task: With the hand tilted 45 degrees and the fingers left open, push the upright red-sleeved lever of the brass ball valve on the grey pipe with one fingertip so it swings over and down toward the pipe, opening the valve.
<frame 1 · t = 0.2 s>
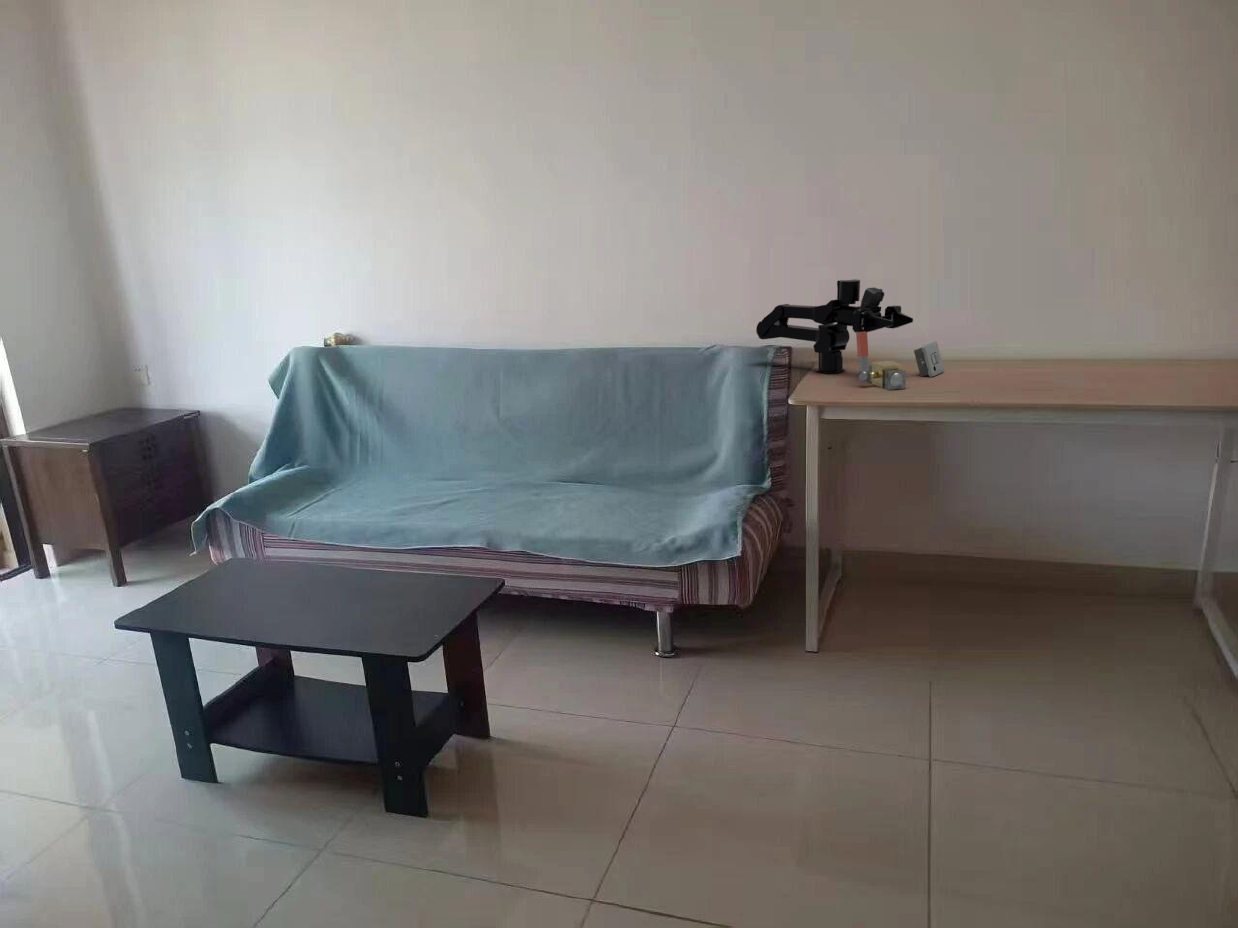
hand: (902, 321, 263), 16 cm above the table, tool horizontal, fingers open, 9 cm apart
lever: (862, 356, 261), point 8 cm above the table, hinge at -10.0°
valve: (886, 384, 263), on the table
electrical switch: (928, 375, 274), on the table
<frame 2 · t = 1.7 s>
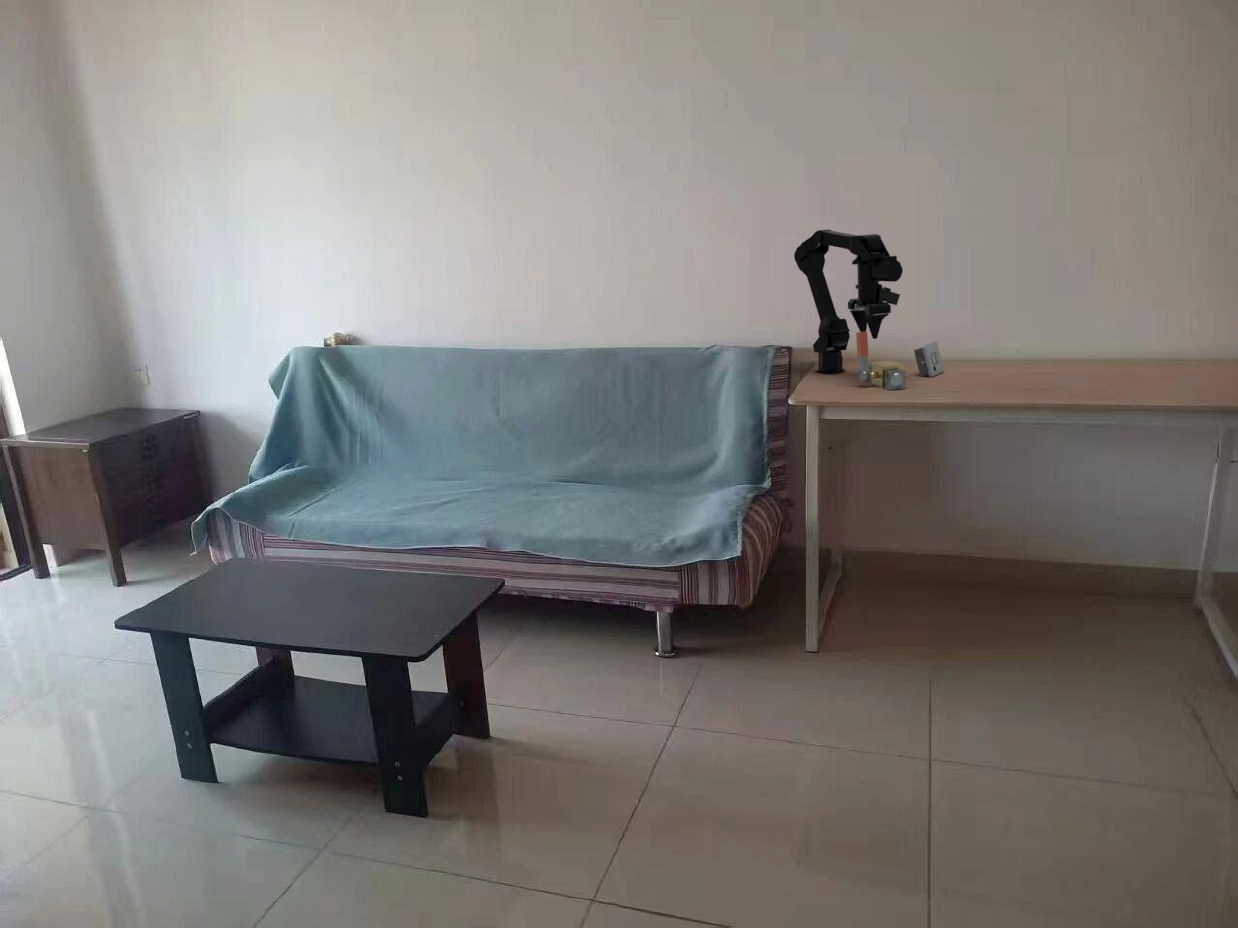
hand: (869, 336, 270), 12 cm above the table, tool pointing down, fingers open, 9 cm apart
nothing on the table moved.
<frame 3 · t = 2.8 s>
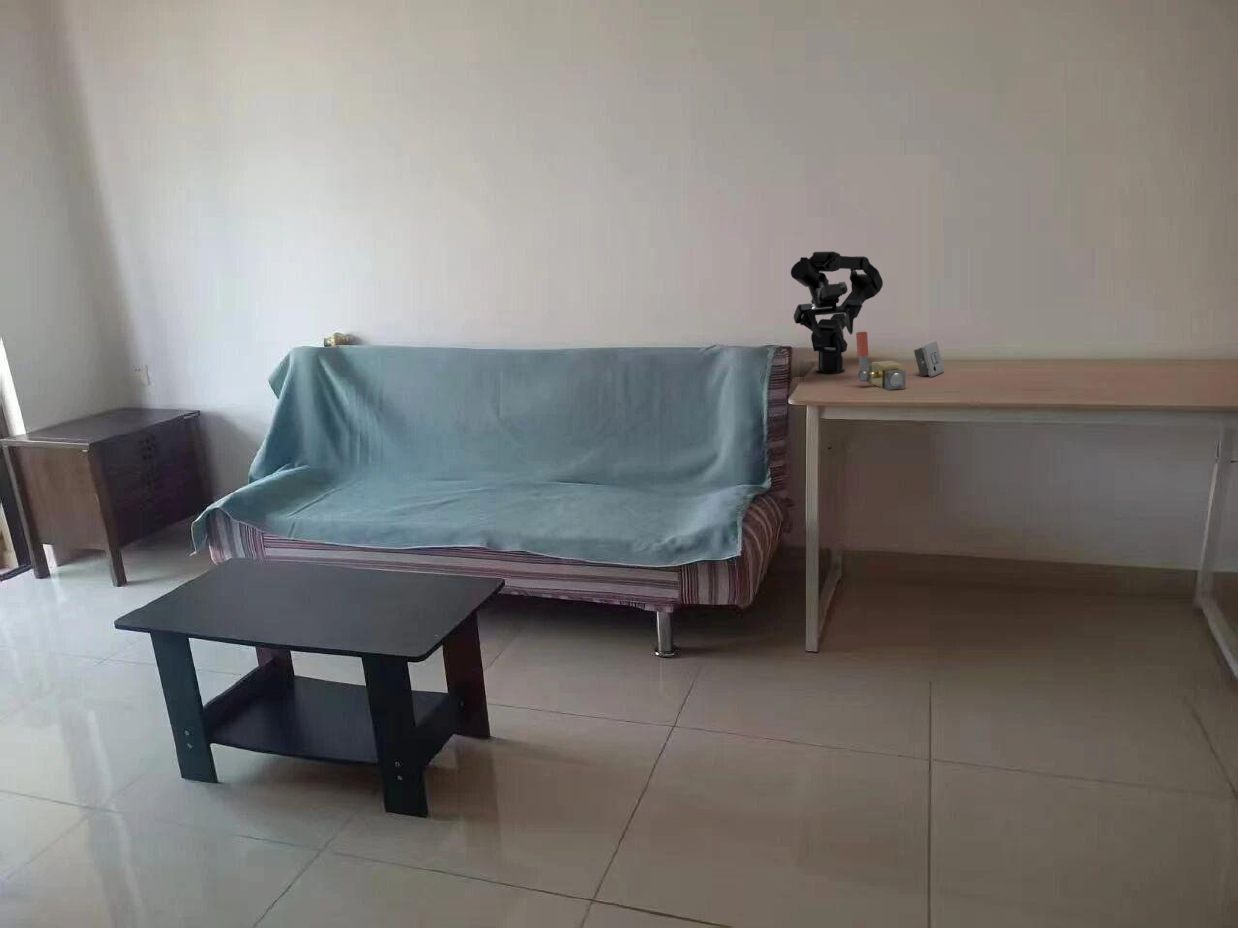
hand: (836, 335, 267), 13 cm above the table, tool tilted 45°, fingers open, 9 cm apart
nothing on the table moved.
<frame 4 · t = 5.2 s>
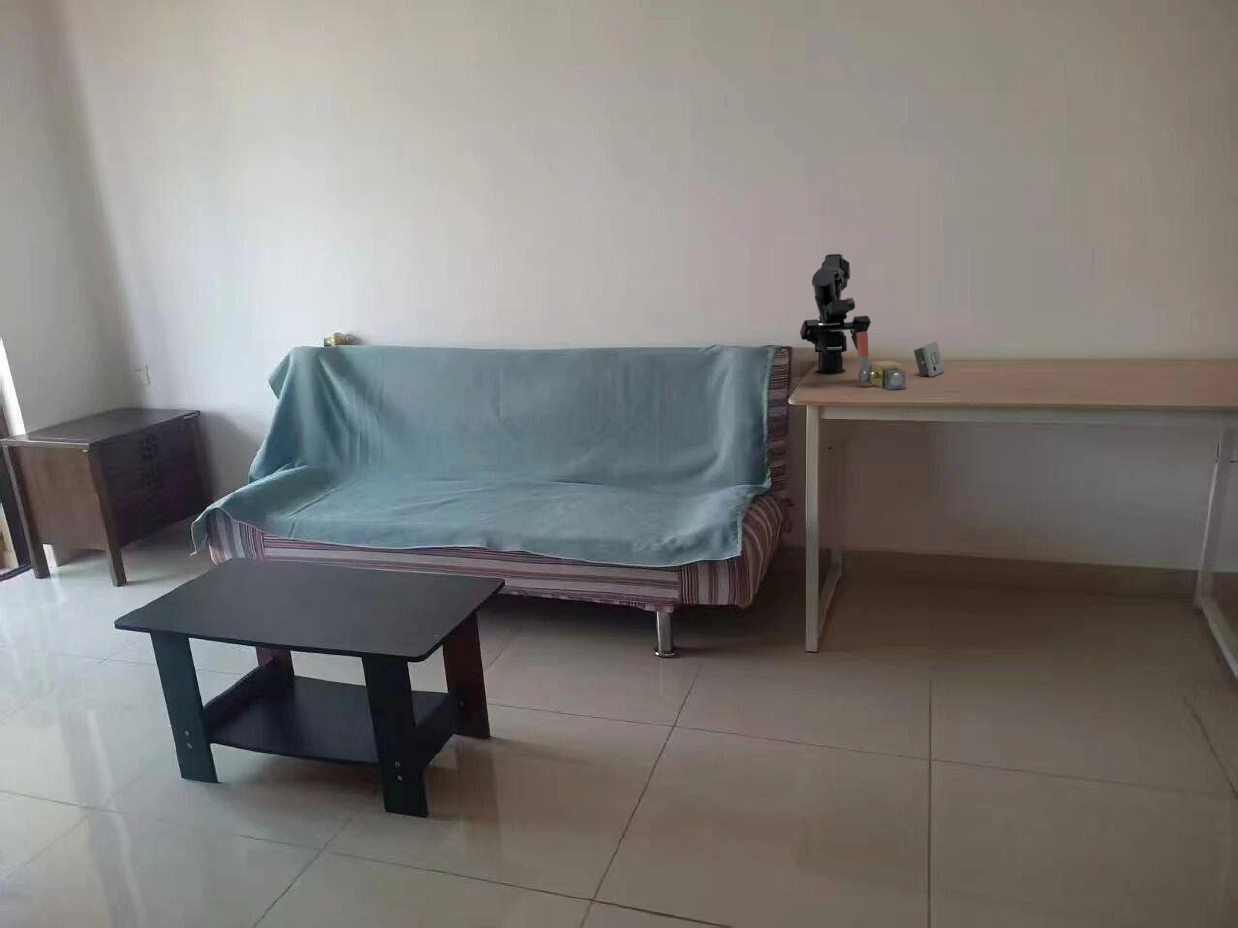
hand: (842, 351, 261), 10 cm above the table, tool tilted 45°, fingers open, 9 cm apart
lever: (863, 356, 261), point 8 cm above the table, hinge at -8.3°, touching gripper
everything else where it was.
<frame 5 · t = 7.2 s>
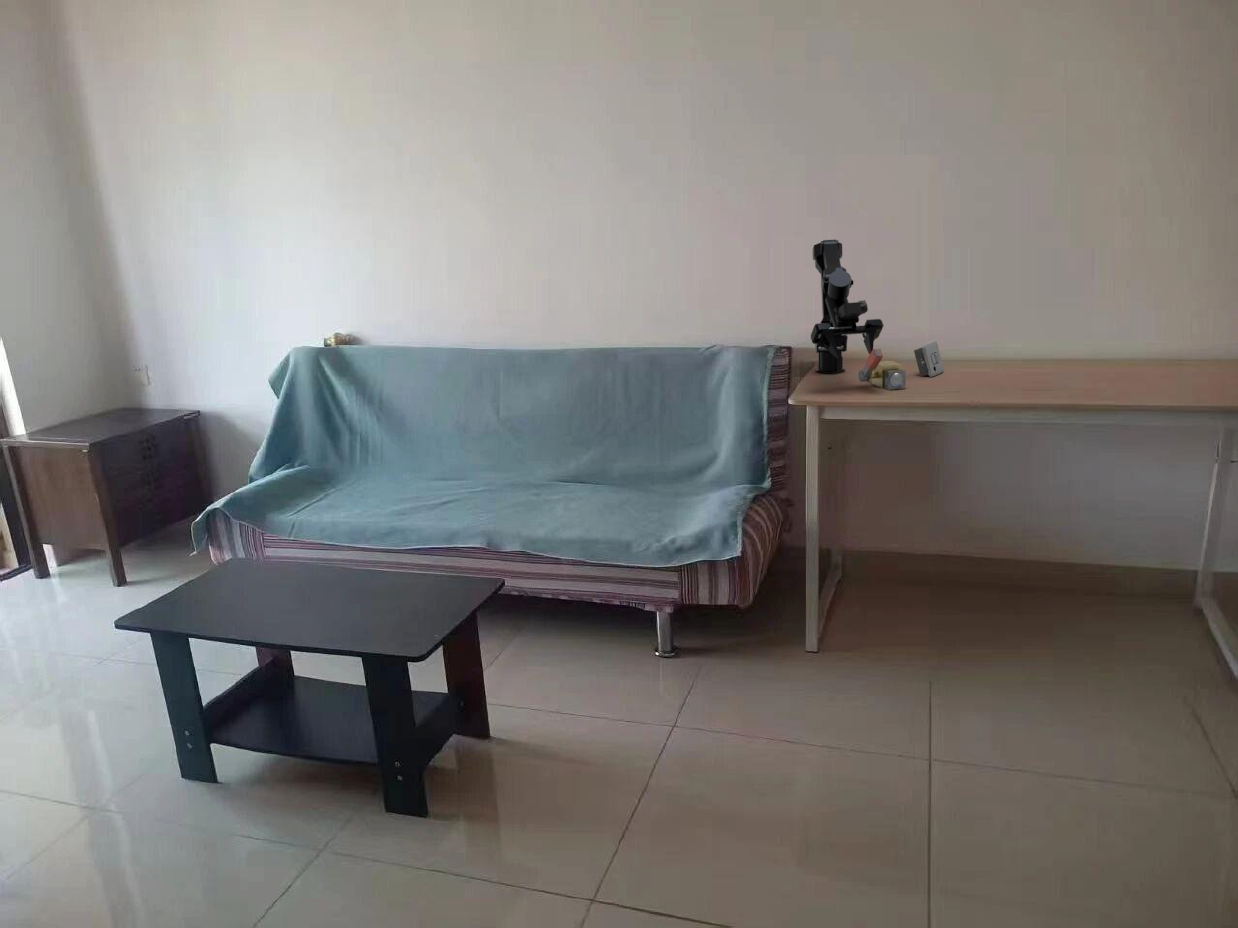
hand: (855, 356, 253), 10 cm above the table, tool tilted 45°, fingers open, 9 cm apart
lever: (870, 366, 257), point 6 cm above the table, hinge at 50.1°
everything else where it was.
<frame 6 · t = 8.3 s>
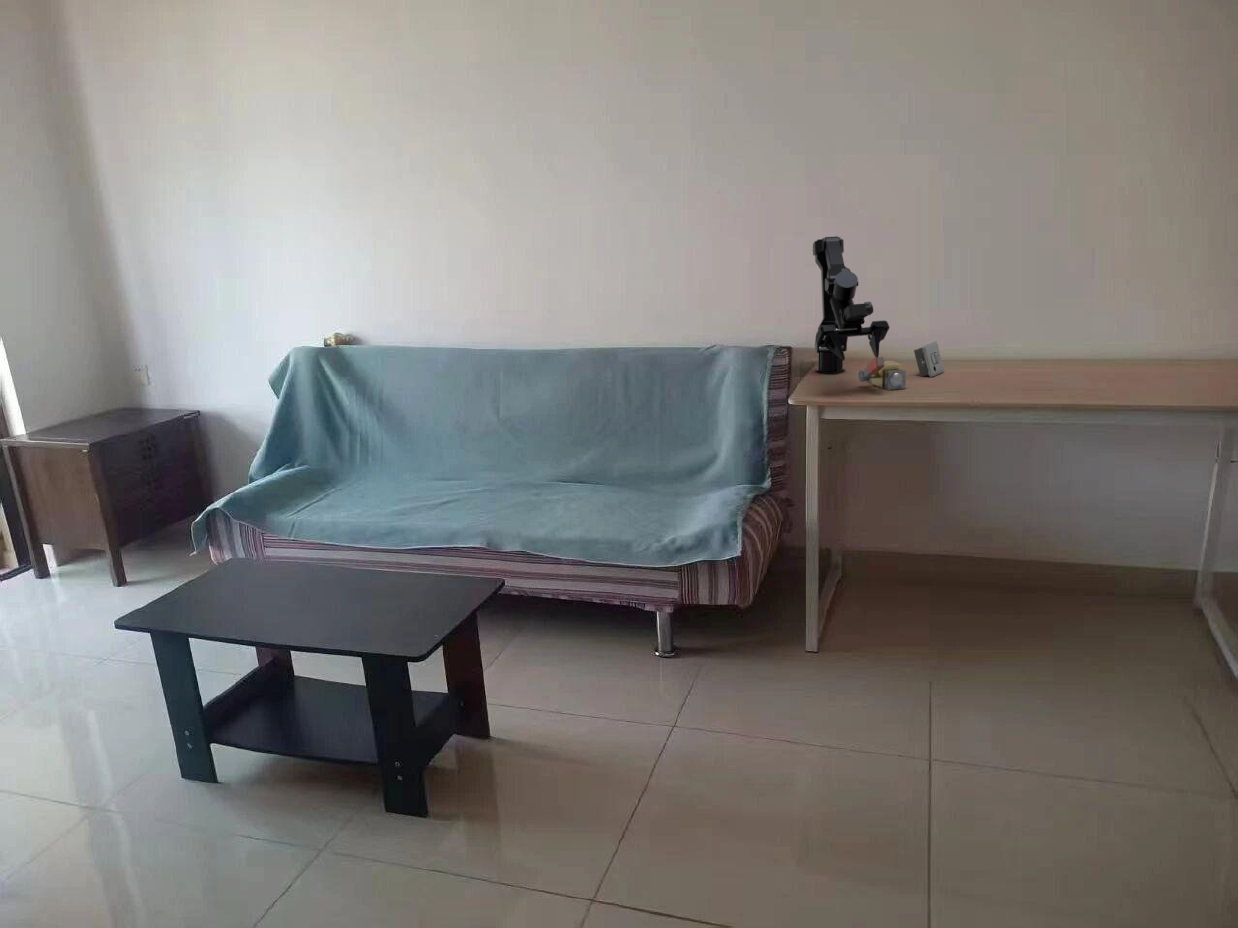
hand: (860, 358, 250), 10 cm above the table, tool tilted 45°, fingers open, 9 cm apart
lever: (871, 369, 256), point 5 cm above the table, hinge at 62.1°
everything else where it was.
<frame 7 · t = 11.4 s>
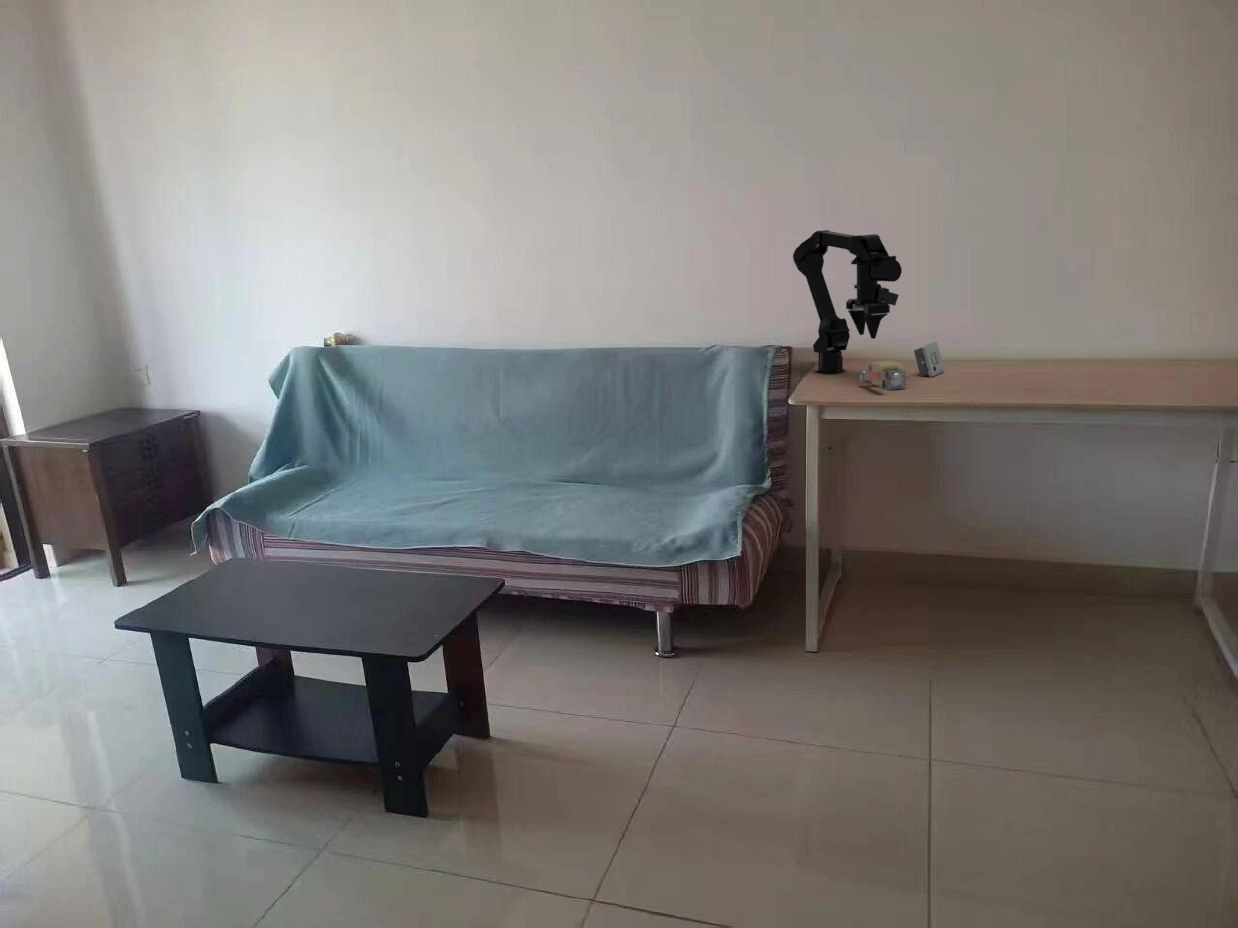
hand: (867, 336, 271), 12 cm above the table, tool pointing down, fingers open, 9 cm apart
lever: (871, 376, 256), point 4 cm above the table, hinge at 80.7°
everything else where it was.
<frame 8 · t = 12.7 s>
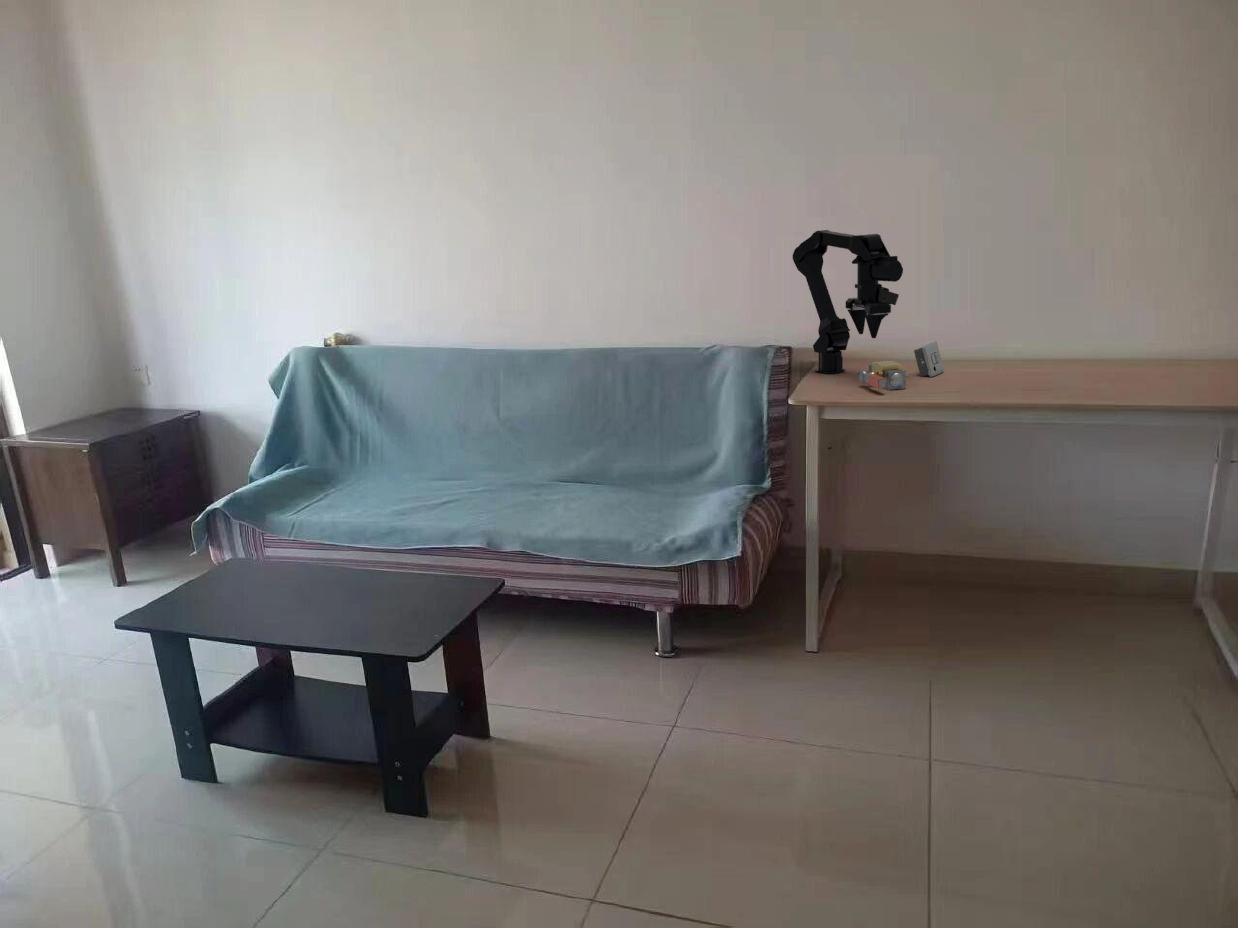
hand: (867, 336, 271), 12 cm above the table, tool pointing down, fingers open, 9 cm apart
lever: (871, 379, 256), point 3 cm above the table, hinge at 90.1°
everything else where it was.
at the end: lever at +90° (first picture: -10°); lever touching nothing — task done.
